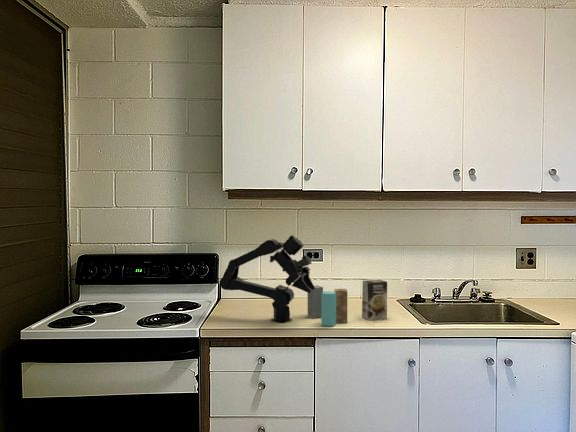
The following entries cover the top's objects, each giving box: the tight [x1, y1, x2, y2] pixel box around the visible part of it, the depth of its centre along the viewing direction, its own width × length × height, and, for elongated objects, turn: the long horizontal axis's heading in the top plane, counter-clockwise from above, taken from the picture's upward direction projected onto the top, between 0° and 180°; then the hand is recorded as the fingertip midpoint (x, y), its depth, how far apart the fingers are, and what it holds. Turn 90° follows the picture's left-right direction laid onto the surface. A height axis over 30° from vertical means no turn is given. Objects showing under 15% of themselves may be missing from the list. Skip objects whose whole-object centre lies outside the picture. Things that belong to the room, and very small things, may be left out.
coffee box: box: [361, 279, 388, 321], centre depth 191 cm, size 9×6×16 cm
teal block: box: [320, 290, 337, 327], centre depth 181 cm, size 5×5×13 cm
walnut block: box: [334, 288, 348, 323], centre depth 186 cm, size 5×5×13 cm
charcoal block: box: [307, 284, 324, 319], centre depth 194 cm, size 5×5×13 cm
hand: (312, 290), depth 183 cm, fingers open, 7 cm apart
